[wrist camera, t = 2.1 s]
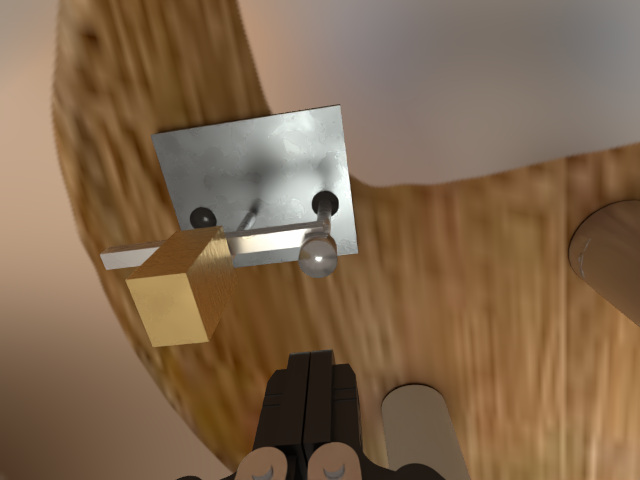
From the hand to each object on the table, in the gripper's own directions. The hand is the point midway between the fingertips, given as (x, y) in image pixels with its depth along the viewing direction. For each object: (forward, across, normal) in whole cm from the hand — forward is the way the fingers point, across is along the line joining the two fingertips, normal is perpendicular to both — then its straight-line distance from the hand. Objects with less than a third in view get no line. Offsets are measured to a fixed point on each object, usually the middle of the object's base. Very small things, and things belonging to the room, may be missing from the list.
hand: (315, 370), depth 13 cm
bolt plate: (+25, +6, 0) cm, 26 cm away
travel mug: (+25, -6, +30) cm, 40 cm away
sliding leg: (+23, +8, 0) cm, 24 cm away
